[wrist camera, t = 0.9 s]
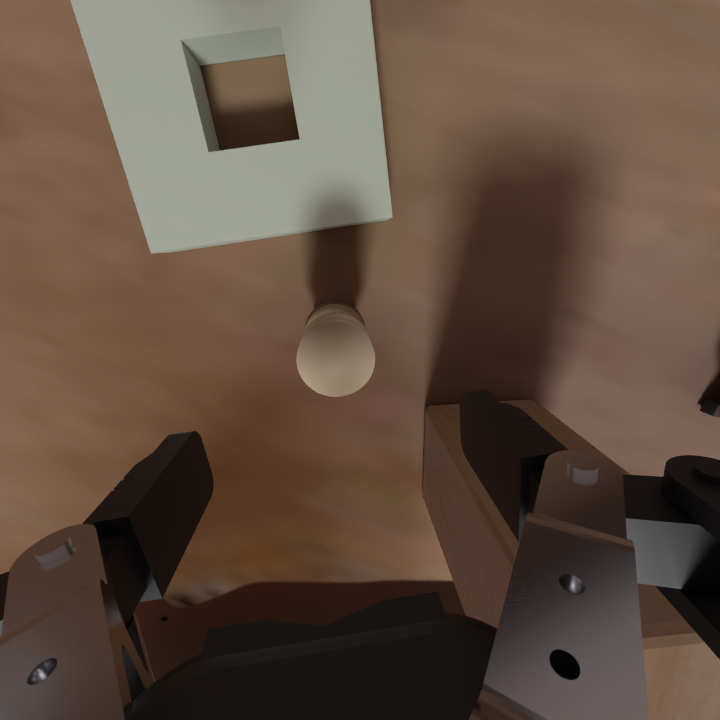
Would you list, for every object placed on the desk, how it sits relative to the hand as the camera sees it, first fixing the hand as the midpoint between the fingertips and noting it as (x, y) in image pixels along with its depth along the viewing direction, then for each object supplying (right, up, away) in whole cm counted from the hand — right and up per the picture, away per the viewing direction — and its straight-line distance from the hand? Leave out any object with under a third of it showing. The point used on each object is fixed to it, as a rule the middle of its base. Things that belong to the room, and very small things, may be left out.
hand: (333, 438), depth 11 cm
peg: (-1, +5, +17) cm, 18 cm away
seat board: (-6, +19, +13) cm, 24 cm away
